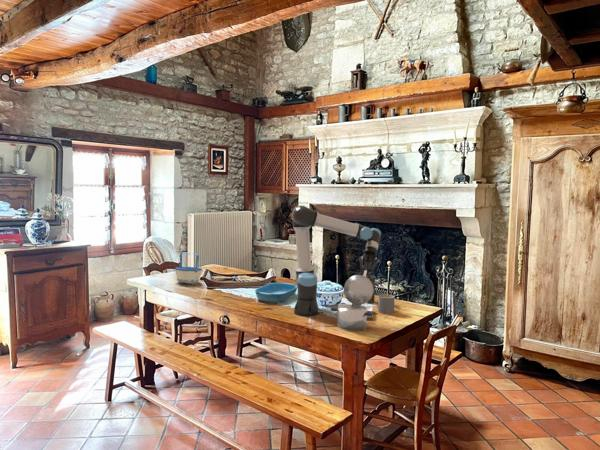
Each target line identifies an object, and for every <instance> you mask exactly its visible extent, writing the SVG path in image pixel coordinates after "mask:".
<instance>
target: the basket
mask: <svg viewBox="0 0 600 450" xmlns="http://www.w3.org/2000/svg"><path fill="white" fill-rule="evenodd" d="M183 254H185V255H190V253H189V252H185V251H184V252H183V251H182V252H180V253H179V267H178V266H176V267H175V268H174V269H175V275H176V281H177V282H178V283H182V284H183V283H184V284H187V285H188V284H193V285H194V284H198V283H199V280H200V277H201V274H202V270H203V268H202V267H198V265H199V257H200V256H199V254H197V253H194V255H195V256H196V257H195V258H196V260H195V267H194V266H183Z"/></svg>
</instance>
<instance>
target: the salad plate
mask: <svg viewBox="0 0 600 450" xmlns="http://www.w3.org/2000/svg"><path fill="white" fill-rule="evenodd" d="M341 305H351V304H347V303H346V304H345V303H339V304H338V306H341ZM361 306H363V307H365V308H367V311H373V310H374V309H373V306H369V305H363V304H362V305H361ZM336 315H338V311H336ZM372 317H373V316H367V319H371V318H372Z"/></svg>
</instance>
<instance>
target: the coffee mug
mask: <svg viewBox="0 0 600 450" xmlns="http://www.w3.org/2000/svg"><path fill="white" fill-rule="evenodd" d="M377 298H378V299H377V301H378V302H377V312H378V313H380V314H383V315H392V314H395V295H393V294H392V295H391V294H386V293H385V294H383V293H382V294H378V297H377Z"/></svg>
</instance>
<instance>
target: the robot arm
mask: <svg viewBox="0 0 600 450" xmlns="http://www.w3.org/2000/svg"><path fill="white" fill-rule="evenodd" d="M291 219H292V228H293V229H294V231H295V243H296V259H297V267H296V269H295V285H297V286H298V287H297V296H296V297H297V300H296V302H295V305H294V308H293V309H294V310H293V313H294V314H296V315H298V316H302V317H303V316H304V317H305V316H306V317H307V316H308V317H312V316H317V315H319V314H320V308H319V304H318V302H317V300H318V299H317V297H318V296H317V294H318V276H317V274H315V270H314V268H313V267H312V257H311V256H312V255H311V243H310V242H311V241H310V228H311V227H312V228H315V227H320V228H323V229H326V230H330V231H334V232H337V233H340V234H345V235H348V236H352V237H355V238H358V239H359V238H360V239H362V240H364V241H367V242H366V243H365V250H364V252H363V255H362V256H358V260H359V269H360V272H362V273H361V275H363V276H365V277H368V276H369V273H370V272H371V273H373V272H374V270H375V268H376V266H377V264H378V263H379V262H380V258H379V257H377V254H378V249H379V244H380V240H381V237H382V231H381V230H380V229H379V228H375V227H371V228H370V227H369V226H365V225H362V224H360V223H358V222H354V223H353V222H350V221H347V220H343V219H340V218H335V217H332V216H329V215H325V214H320V213H319V211H316V210H313V209H311V208H309V207H307V206H306V205H297V206H295V207H294V208H293V209H292V210H291ZM363 260H364V264H363Z"/></svg>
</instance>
